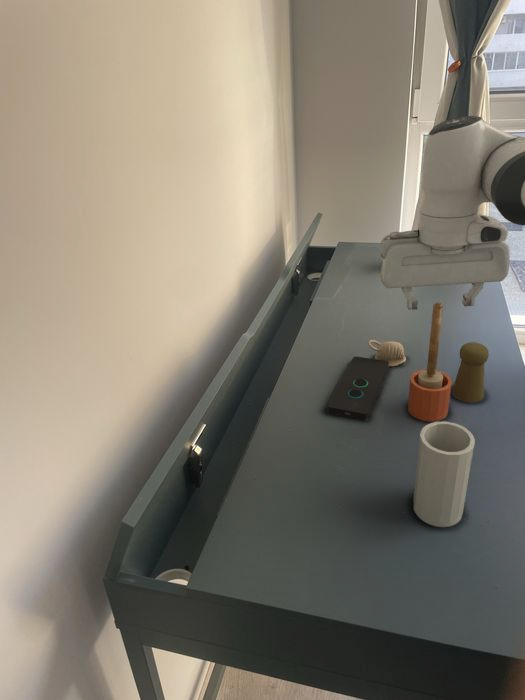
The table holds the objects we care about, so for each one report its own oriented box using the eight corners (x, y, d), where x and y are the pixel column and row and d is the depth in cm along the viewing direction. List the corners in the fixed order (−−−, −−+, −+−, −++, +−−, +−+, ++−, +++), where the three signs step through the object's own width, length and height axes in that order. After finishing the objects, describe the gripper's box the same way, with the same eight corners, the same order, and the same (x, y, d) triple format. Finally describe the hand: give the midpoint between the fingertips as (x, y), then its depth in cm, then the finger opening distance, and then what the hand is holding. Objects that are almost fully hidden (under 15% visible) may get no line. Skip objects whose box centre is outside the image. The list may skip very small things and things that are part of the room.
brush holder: (442, 398, 105) (446, 368, 101) (452, 421, 98) (456, 390, 95) (404, 399, 105) (407, 369, 102) (412, 422, 99) (414, 391, 96)
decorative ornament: (405, 367, 115) (407, 346, 113) (367, 364, 117) (367, 344, 115) (406, 358, 119) (407, 337, 116) (368, 355, 121) (369, 335, 118)
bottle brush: (436, 399, 103) (448, 296, 92) (442, 412, 100) (454, 307, 89) (413, 399, 104) (422, 297, 93) (418, 413, 100) (428, 308, 89)
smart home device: (325, 405, 103) (353, 355, 118) (325, 412, 103) (353, 361, 119) (367, 413, 99) (390, 360, 115) (367, 421, 100) (390, 367, 116)
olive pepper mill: (474, 383, 108) (481, 336, 103) (490, 399, 103) (498, 351, 98) (446, 387, 108) (452, 340, 102) (461, 404, 103) (468, 356, 97)
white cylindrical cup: (455, 491, 83) (466, 420, 76) (468, 527, 77) (481, 454, 70) (409, 491, 84) (415, 422, 77) (418, 527, 78) (426, 455, 71)
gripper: (383, 239, 82) (381, 318, 89) (519, 229, 80) (506, 311, 87) (377, 227, 88) (376, 302, 95) (504, 217, 86) (493, 295, 93)
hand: (439, 306), depth 91 cm, fingers open, 8 cm apart
